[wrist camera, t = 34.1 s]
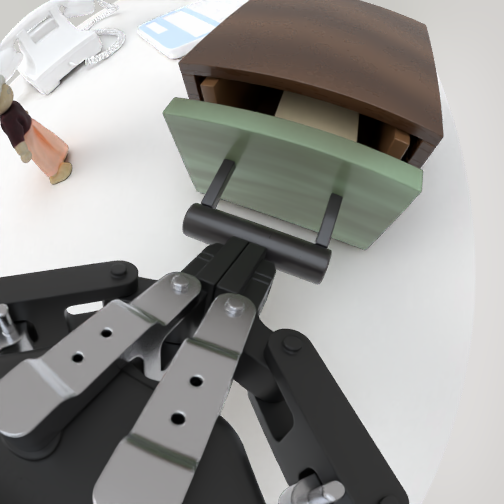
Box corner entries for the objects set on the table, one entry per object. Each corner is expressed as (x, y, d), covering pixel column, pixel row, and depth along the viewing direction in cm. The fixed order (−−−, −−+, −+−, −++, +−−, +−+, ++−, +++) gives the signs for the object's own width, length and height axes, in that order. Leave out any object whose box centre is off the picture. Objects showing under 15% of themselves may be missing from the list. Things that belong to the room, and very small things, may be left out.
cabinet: (378, 221, 19) (443, 136, 10) (209, 164, 21) (177, 62, 12) (396, 99, 23) (426, 24, 13) (273, 61, 25) (272, -17, 15)
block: (345, 143, 18) (360, 98, 14) (337, 195, 17) (355, 153, 13) (284, 128, 19) (286, 81, 15) (268, 178, 18) (268, 132, 14)
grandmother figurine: (85, 168, 22) (6, 73, 10) (56, 198, 21) (-33, 117, 9) (61, 135, 24) (0, 58, 11) (37, 160, 23) (-30, 90, 11)
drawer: (346, 315, 16) (405, 293, 9) (167, 247, 18) (110, 187, 11) (391, 114, 21) (419, 47, 13) (265, 76, 23) (262, 5, 15)
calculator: (306, 17, 28) (307, 6, 26) (171, 63, 26) (167, 50, 24) (250, -6, 32) (249, -15, 30) (136, 35, 29) (133, 25, 27)
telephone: (110, 13, 35) (93, -32, 23) (171, 19, 30) (154, -46, 18) (8, 94, 30) (-23, 53, 18) (31, 126, 25) (-18, 65, 13)
